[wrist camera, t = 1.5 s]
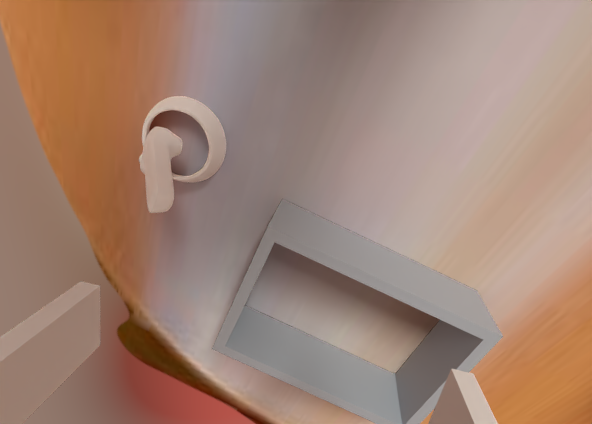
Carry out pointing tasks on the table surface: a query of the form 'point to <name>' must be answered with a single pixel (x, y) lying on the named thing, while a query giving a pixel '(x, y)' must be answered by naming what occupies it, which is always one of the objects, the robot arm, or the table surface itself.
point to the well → (340, 364)
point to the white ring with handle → (176, 151)
